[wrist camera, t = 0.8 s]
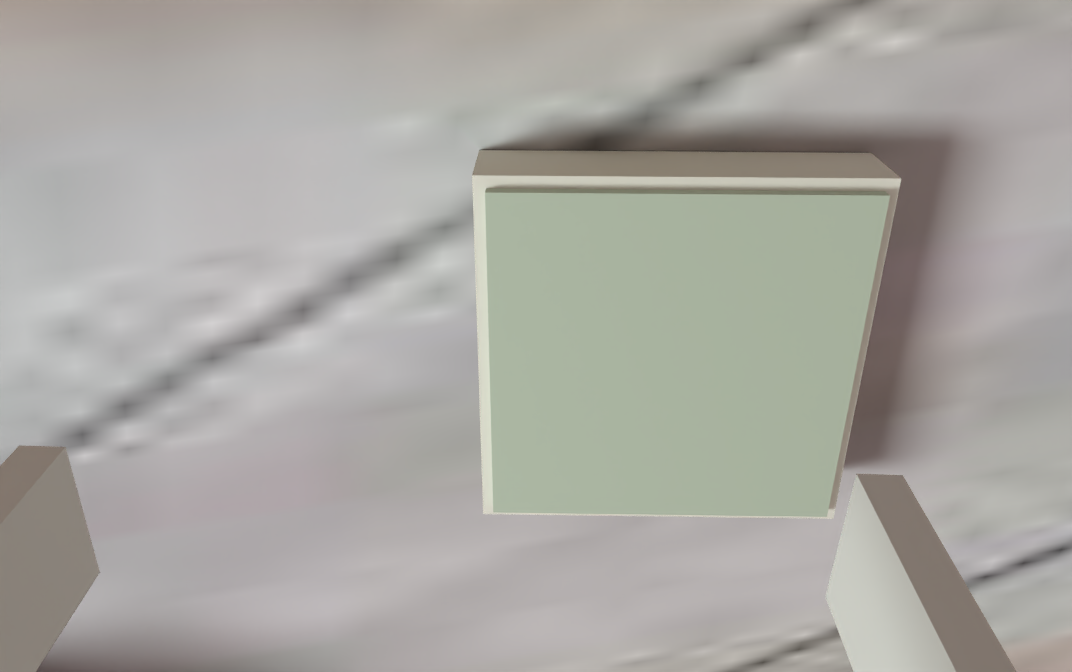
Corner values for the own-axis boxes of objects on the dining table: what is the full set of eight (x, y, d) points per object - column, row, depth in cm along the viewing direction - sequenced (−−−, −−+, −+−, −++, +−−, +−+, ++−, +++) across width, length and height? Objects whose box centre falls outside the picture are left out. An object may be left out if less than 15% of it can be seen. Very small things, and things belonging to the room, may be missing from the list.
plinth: (479, 150, 36) (471, 179, 32) (871, 152, 36) (906, 182, 32) (488, 468, 43) (482, 521, 40) (812, 472, 43) (836, 525, 39)
